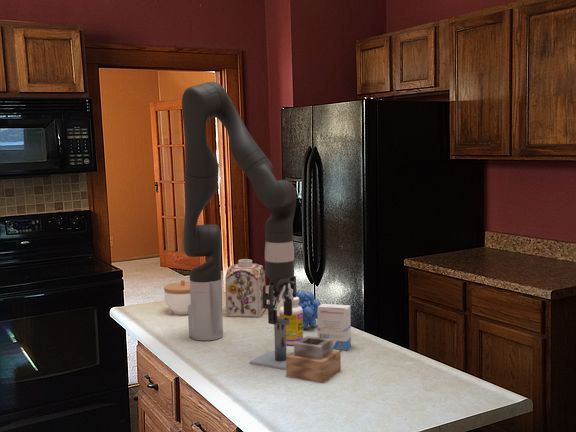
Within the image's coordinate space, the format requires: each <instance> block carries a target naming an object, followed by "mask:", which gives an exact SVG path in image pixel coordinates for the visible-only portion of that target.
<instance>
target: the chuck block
mask: <svg viewBox="0 0 576 432" xmlns="http://www.w3.org/2000/svg"><path fill="white" fill-rule="evenodd" d="M293 347H294V349H293V350H294V351H292V352H291V353H289V355H288V356H286V370H285V371H286V373H285V374H286V377H289V378H295V379H300V380H305V381H311V382H317V383H325V382H327V381H328V380H329V379H330V378H332V377H333V376H334V375H336V374H337V373H338V372H340V371H341V370H342V369H341V368H342V366H341V363H342V360H341V358H342V357H341V356H342V355H341V353H342V352H341V351H342V350H335V349H333V347H332V339H326V338H319V337H318V336H311V335H306V336H303V339H301V340H299V341H298V342H296V343H294V345H293Z"/></svg>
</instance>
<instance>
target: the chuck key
mask: <svg viewBox="0 0 576 432" xmlns="http://www.w3.org/2000/svg"><path fill="white" fill-rule="evenodd" d="M286 325H290V319H287V318H284V317H280V315H277V324H273V326H274V327H273V329H274V332H273V333H274V351H275V360H276V361H286V353H287V344H286Z"/></svg>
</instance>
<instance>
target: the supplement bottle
mask: <svg viewBox="0 0 576 432" xmlns="http://www.w3.org/2000/svg"><path fill="white" fill-rule="evenodd" d="M284 301H285V300H284V299H283V298H282V303H283V304H282V305H281V306H280V308H279V310H278V311H279V316H280V317H284V318H287V319H290V325H286V346H294V343H296V342H298V341H299V340H301V339H303V338H304V329H303V309H302V308H301V307H300V306H299V305H298V303H299V297H296V298H295V297H294V300H293V301H292V315H291V316H286V315H284Z"/></svg>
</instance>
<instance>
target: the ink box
mask: <svg viewBox="0 0 576 432" xmlns="http://www.w3.org/2000/svg"><path fill="white" fill-rule="evenodd" d="M316 320H317V337H319V338H326V339H332V347H333V349H335V350H341V351H346V352H347V351H348V350H349V349H350V348H351V346H352V344H351V343H352V340H351V339H352V338H351V337H352V336H351V334H352V331H351V330H352V329H351V305H350V304H334V303H332V304H331V303H320V306H318V312H317V319H316Z"/></svg>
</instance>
